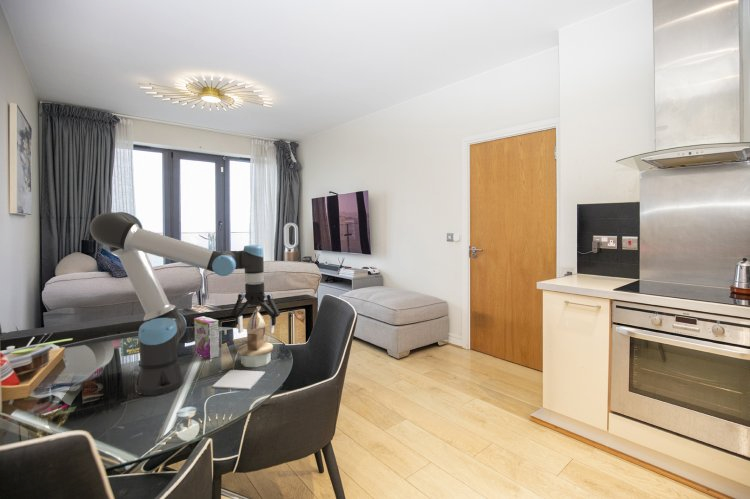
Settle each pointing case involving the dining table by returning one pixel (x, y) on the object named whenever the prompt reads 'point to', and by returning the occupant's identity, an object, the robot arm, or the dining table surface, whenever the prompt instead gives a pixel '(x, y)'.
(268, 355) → the bowl
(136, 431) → the dining table surface
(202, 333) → the candy bar box
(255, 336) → the lid
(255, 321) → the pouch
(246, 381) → the mat
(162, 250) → the robot arm
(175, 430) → the dining table surface
